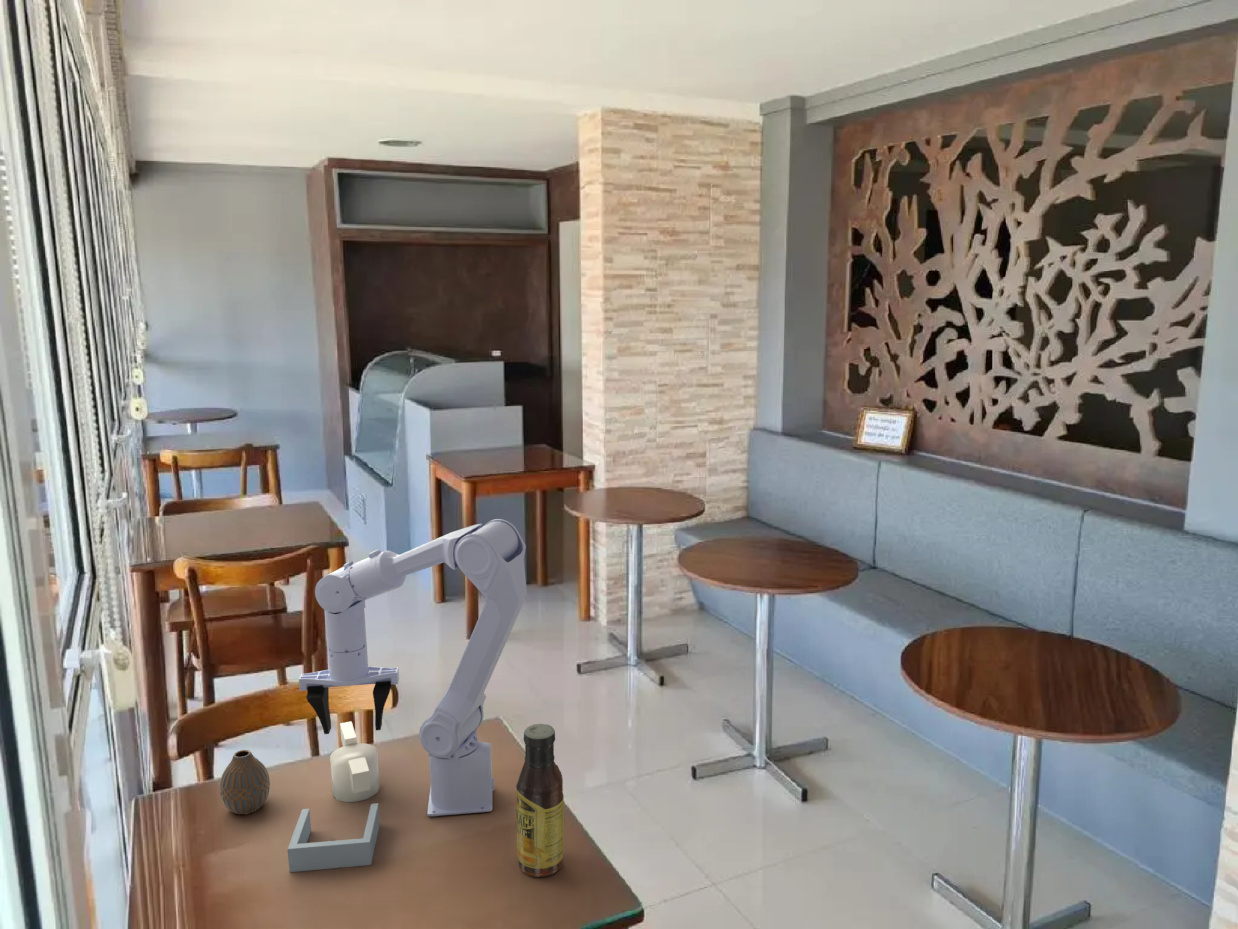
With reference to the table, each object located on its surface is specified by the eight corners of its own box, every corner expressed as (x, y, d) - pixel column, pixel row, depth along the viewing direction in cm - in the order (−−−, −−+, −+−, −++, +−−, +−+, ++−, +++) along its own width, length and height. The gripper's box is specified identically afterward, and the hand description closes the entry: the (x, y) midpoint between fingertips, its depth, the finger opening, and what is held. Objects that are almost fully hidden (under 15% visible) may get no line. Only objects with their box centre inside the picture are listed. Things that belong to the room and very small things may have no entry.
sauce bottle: (511, 858, 125) (507, 722, 122) (555, 847, 128) (551, 713, 124) (526, 886, 120) (522, 744, 116) (571, 874, 122) (568, 735, 118)
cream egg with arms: (326, 766, 150) (323, 726, 149) (370, 757, 153) (367, 718, 152) (339, 821, 135) (335, 777, 133) (387, 810, 137) (385, 767, 136)
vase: (279, 796, 142) (275, 743, 140) (258, 821, 135) (253, 766, 133) (236, 794, 142) (231, 741, 141) (213, 819, 136) (207, 764, 134)
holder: (379, 824, 134) (378, 803, 133) (371, 865, 124) (369, 842, 124) (303, 831, 132) (302, 809, 132) (289, 872, 123) (287, 849, 122)
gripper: (398, 633, 145) (403, 714, 147) (302, 639, 143) (309, 721, 145) (394, 650, 138) (399, 734, 140) (293, 656, 136) (300, 742, 138)
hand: (353, 729), depth 142 cm, fingers open, 7 cm apart
